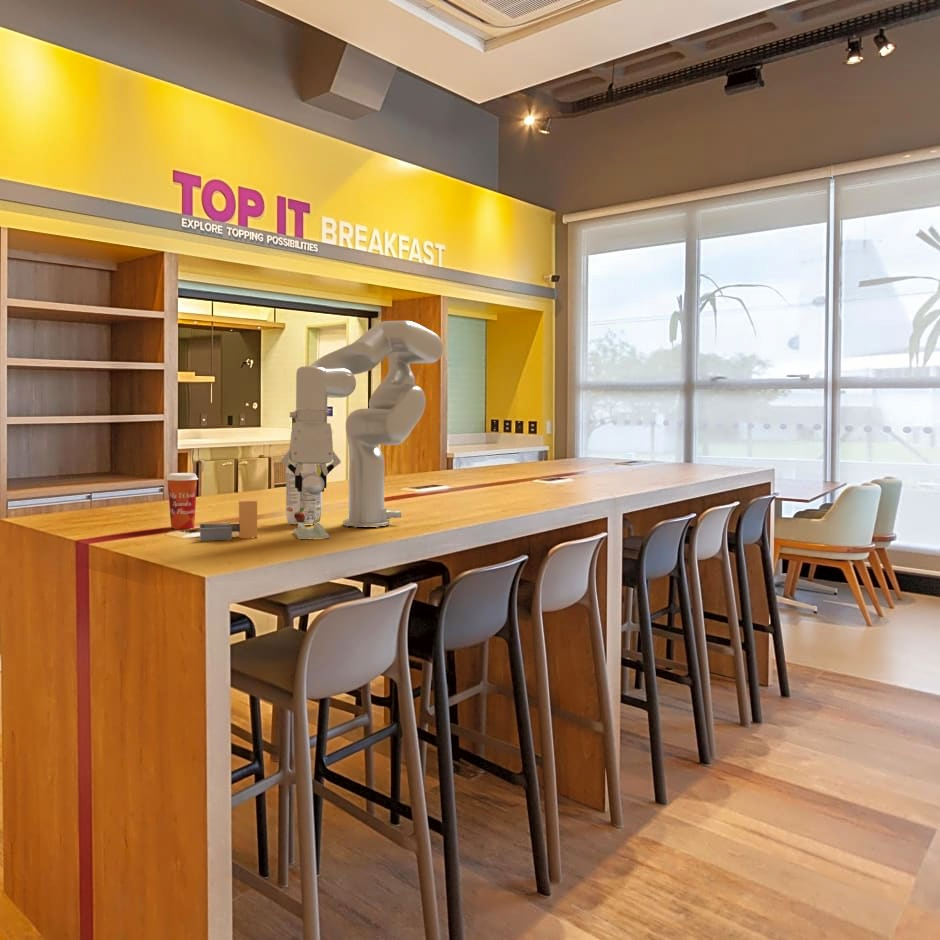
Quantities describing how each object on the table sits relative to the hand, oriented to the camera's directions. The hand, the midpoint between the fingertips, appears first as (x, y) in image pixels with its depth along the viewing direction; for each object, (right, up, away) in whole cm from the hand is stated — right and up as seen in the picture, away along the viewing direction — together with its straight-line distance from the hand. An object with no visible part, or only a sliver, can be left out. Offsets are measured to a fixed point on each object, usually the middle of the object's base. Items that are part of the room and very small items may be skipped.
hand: (310, 490), depth 194 cm
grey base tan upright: (-19, -11, -4) cm, 22 cm away
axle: (+1, 0, -1) cm, 1 cm away
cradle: (0, -11, +1) cm, 11 cm away
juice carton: (-6, -10, +21) cm, 24 cm away
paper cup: (-35, -10, +9) cm, 38 cm away
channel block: (-22, -11, -5) cm, 25 cm away
